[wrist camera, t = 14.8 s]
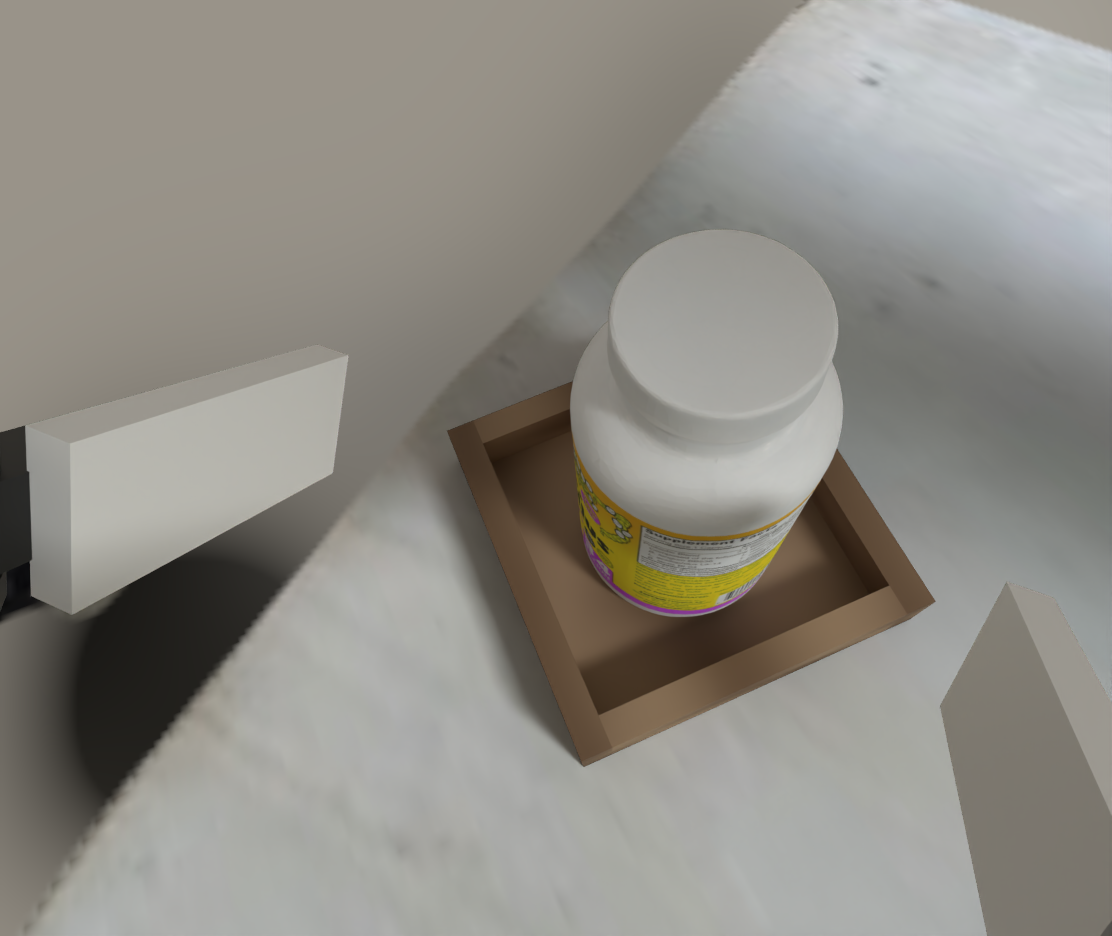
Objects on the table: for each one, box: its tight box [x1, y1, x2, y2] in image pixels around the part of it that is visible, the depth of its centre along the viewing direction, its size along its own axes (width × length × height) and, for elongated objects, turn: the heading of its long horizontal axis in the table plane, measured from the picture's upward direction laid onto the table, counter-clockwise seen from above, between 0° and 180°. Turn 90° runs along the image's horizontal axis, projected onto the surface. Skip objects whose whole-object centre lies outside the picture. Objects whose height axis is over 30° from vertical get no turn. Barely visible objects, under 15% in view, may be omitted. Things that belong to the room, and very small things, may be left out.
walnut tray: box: [447, 381, 935, 767], centre depth 27 cm, size 12×12×2 cm
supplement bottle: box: [570, 229, 843, 617], centre depth 22 cm, size 7×7×13 cm
